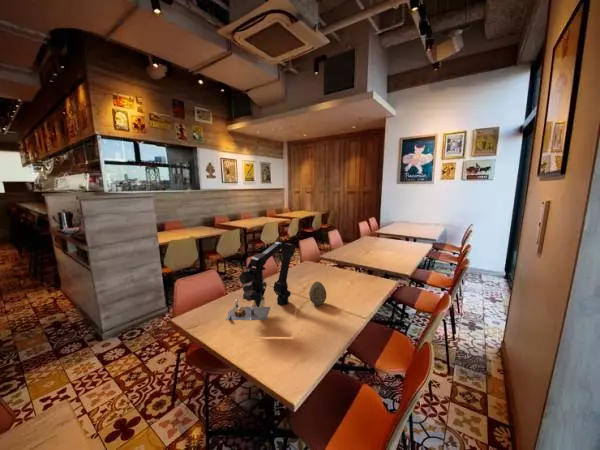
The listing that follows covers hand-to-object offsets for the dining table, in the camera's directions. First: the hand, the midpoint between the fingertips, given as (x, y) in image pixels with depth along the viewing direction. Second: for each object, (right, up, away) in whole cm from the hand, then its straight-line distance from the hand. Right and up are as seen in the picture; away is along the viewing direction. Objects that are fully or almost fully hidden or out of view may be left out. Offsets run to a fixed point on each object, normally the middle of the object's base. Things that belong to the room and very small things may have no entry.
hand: (259, 304), depth 138 cm
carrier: (-7, -7, +4) cm, 10 cm away
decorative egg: (+35, -5, +14) cm, 38 cm away
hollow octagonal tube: (0, 0, 0) cm, 0 cm away
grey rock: (-10, -4, +26) cm, 28 cm away
